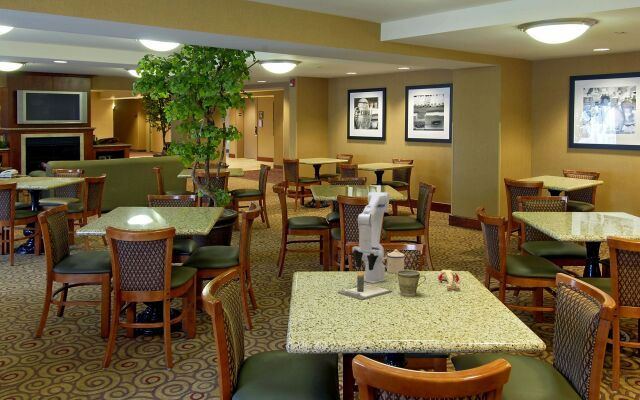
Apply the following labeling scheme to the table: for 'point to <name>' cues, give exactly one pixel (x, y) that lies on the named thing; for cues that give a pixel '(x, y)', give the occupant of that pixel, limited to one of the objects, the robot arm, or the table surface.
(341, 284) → the table surface
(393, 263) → the teacup with lid
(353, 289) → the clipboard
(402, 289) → the ceramic cup
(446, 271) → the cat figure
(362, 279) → the marker
